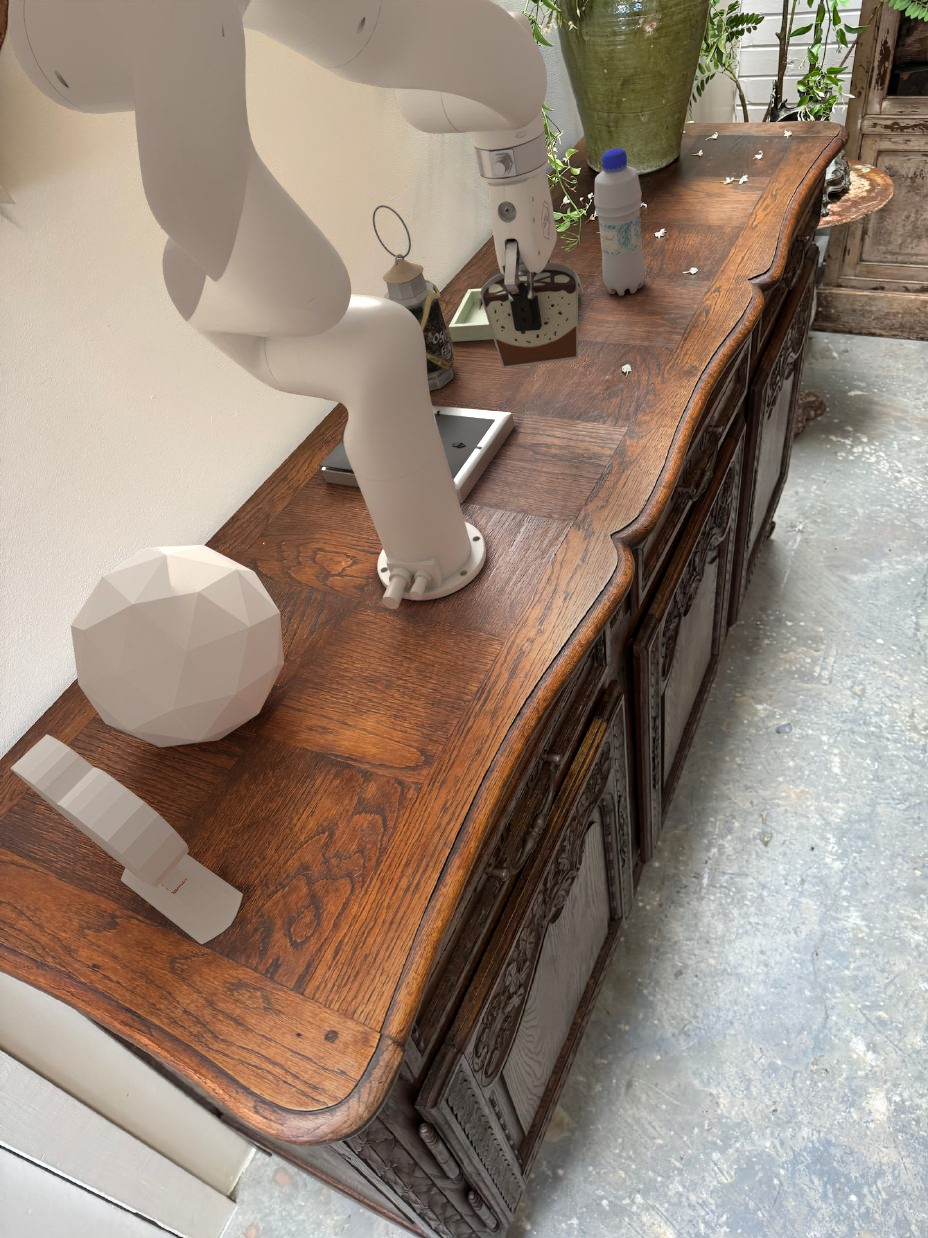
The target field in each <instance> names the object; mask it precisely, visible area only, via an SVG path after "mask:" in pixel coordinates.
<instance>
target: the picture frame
mask: <svg viewBox="0 0 928 1238" xmlns="http://www.w3.org/2000/svg"><path fill="white" fill-rule="evenodd" d="M432 407H433V411H434V415H435V419H436V423H437V427H438V430H439V434H440V437H441V440H442V443H443V447H444V451H445V454H446V458H447V461H448V465H449V468H450V472H451V475H452V479H453V482H454V486H455V489H456V493H457V496H458V500H459V503H462V504H463V503H464V501H466V498H467V497H468V495H470V493H471V491H472V490H473V488H474V487H475V485H476V484H477V483H478V481H479V480H480V478H481V477H482V475H483V474H484V472H485V471H486V469H487V468H488V466H489V465H490V464H491V462H492V460H493V459H494V458H495V456H496V455H497V453H498V451H499V450H500V448H501V447H502V446H503V444H504V443H505V441H506V440H507V438H508V437H509V436H510V434H511V433H512V431H513V429H515V421H514V416H513V413H512V412H505V411H496V410H495V411H493V410H483V409H474V408H473V409H472V408H463V407H462V408H461V407H450V406H440V405H432ZM318 466H319V467H320V468H321V470H320V471H321V473H322V475H323V478H324V480H325V482H326V483H329V484H335V485H336V484H337V485H343V486H349V487H356V488H360V487H359V485H358V482H357V479H356V477H355V474H354V472H353V470H352V468H351V465H350V463H349V460H348V457H347V454H346V451H345V447H344V441H343V442H338V444H337V445H336V446H335V447H334V448H333V449H332V450H331V452H330V453H329V454H328V455H327V456H326V457H325V458H324V459H323V460H322V461H321V462H320V464H319V465H318Z"/></svg>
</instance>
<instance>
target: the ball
mask: <svg viewBox="0 0 928 1238" xmlns="http://www.w3.org/2000/svg"><path fill="white" fill-rule="evenodd" d="M70 631H71V638H72V647H73V653H74V663H75V669H76V676H77V677H76V678H77V684H78V687H79V688H80V689H81V691H82V692H83V694H84V695H85V696H86V698H87V699H88V701H89V702H90V704H91V705H92V707H93V708H94V710H95V711H96V712H97V714H98V715H99V716H100V718H101V719H102V721H103V722H104V724H105V725H108V726H110V727H112V728H115V729H117V730H119V731H122V732H123V733H126V734H128V735H131V736H133V737H135V738H137V739H140V740H141V741H144V742H147V743H149V744H152V745H154V746H155V747H159V748H167V747H174V746H175V747H176V746H183V745H191V744H199V743H200V744H201V743H207V742H215V741H220V740H221V739H223V738H225V737H227V735H229V734H231V733H232V732H233V731H235V730H236V729H238V728H240V727H241V726H242V725H245V724H246V723H247V722H249V721H250V720H251V719H253V718H255V717H256V716H258V715H259V714H260V712H261V710H262V708H263V707H264V705H265V703H266V700H267V699H268V697H269V695H270V692H271V691H272V688H273V687H274V685H275V684H276V681H277V679H278V677H279V675H280V674H281V671H282V670H283V667H284V665H285V659H284V656H285V655H284V644H283V634H282V633H283V632H282V619H281V611H280V610H279V608H278V606H277V605H276V604H275V601H274V600H273V598H272V597H271V595H270V594H269V592H268V591H267V589H266V588H265V586H264V585H263V583H262V581H261V579H260V578H259V577H258V575H257V574H256V572H255V571H254V570H252V569H250V568H248V567H247V566H244V565H243V564H241V563H239V562H237V561H235V560H233V559H232V558H229V557H228V556H225V555H223V554H222V553H220V552H218V551H216V550H214V549H213V548H210V547H208V546H206V545H205V544H196V545H194V544H193V545H192V544H191V545H173V546H172V545H171V546H170V545H169V546H150V547H149V546H148V547H147V546H145V547H142V548H141V549H139V550H137V552H135V553H134V554H132V555H131V556H129V557H127V559H125V560H124V561H122V562H120V563H119V564H118V565H116V566H115V567H113V568H112V569H111V570H109V571H108V572H107V573H105V574H103V575H102V576H101V577H100V579H99V581H98V582H97V583H96V586H95V587H94V589H92V592H91V593H90V595H89V596H88V598H87V599H86V601H85V602H84V603H83V605H82V607H81V609H80V610H79V612H78V613H77V614H76V616H75V617H74V619H73V621H72V622H71V624H70Z"/></svg>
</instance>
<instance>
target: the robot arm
mask: <svg viewBox="0 0 928 1238" xmlns="http://www.w3.org/2000/svg"><path fill="white" fill-rule="evenodd" d="M7 27H8V28H7V29H8V33H9V40H10V43H11V46H12V50H13V52H14V55H15V58H16V59H17V61H18V63H19V64H20V67H21V69H22V71H23V72H24V74H25V75H26V76H27V78H28V79H29V81H30V82H31V83H32V84H33V86H35V87H36V89H38V90H39V91H40V92H41V93H42V94H43V95H44V96H46V97H47V98H49V99H50V100H52V101H53V102H54V103H56V104H57V105H59V106H62V107H64V108H66V109H68V110H71V111H75V112H78V113H83V114H92V115H93V114H95V115H97V114H98V115H99V114H100V115H102V114H111V113H112V114H113V113H124V112H134V117H135V120H134V121H135V129H136V140H137V141H136V142H137V152H138V159H139V166H140V175H141V181H142V187H143V192H144V195H145V199H146V202H147V205H148V206H149V209H150V211H151V214H152V216H153V217H154V219H155V221H156V222H157V223H158V225H159V227H160V228H161V229H162V230H163V231H164V233H165V234H166V235H167V236H168V238H167V240H166V242H165V245H164V248H163V252H162V275H163V280H164V284H165V287H166V290H167V293H168V295H169V298H170V300H171V302H172V303H173V306H174V307H175V309H176V310H177V311H178V313H179V315H180V316H181V318H183V320H184V321H185V322H186V323H187V324H188V325H189V326H190V327H191V328H192V329H193V330H194V331H195V332H197V334H199V335H200V336H201V337H203V339H205V340H206V341H208V342H209V343H210V344H211V345H212V346H213V347H215V348H216V349H218V350H219V351H220V352H221V353H223V354H224V355H225V356H226V357H228V358H229V359H230V360H231V361H233V362H234V363H236V364H237V365H238V366H239V367H240V368H242V369H243V370H244V371H245V372H247V373H249V375H251V376H252V377H253V378H255V379H256V380H258V381H259V382H261V383H262V384H264V385H265V386H268V387H269V388H272V389H274V390H275V391H279V392H282V393H286V394H292V395H296V396H297V395H299V396H304V397H311V398H317V399H323V400H325V401H331V402H336V403H339V404H341V405H343V406H344V407H345V408H346V410H347V413H348V418H347V421H346V425H345V427H344V428H345V429H344V430H343V431H344V432H343V442H344V447H345V451H346V454H347V457H348V460H349V463H350V465H351V468H352V470H353V472H354V474H355V477H356V479H357V482H358V485H359V487H358V488H359V490H360V493H361V494H362V498H363V500H364V503H365V505H366V508H367V510H368V514H369V515H370V518H371V521H372V524H373V526H374V528H375V531H376V533H377V536H378V538H379V541H380V544H381V547H382V549H381V551H380V553H379V556H378V558H377V563H376V566H377V567H376V568H377V573H378V577H379V580H380V581H381V584H382V585H383V586H384V588H385V589H386V590H385V591H384V594H383V596H382V598H381V603H382V605H383V606H384V607H385V608H387V609H391V610H395V609H398V608H399V606H400V604H401V602H402V599H405V600H411V601H430V600H435V599H439V598H443V597H446V596H448V595H451V594H453V593H456V592H457V591H459V590H461V589H463V588H465V586H467V585H468V584H469V583H471V582H472V581H473V580H474V579H475V577H477V576H478V574H479V573H480V572H481V571H482V569H483V567H484V566H485V565H484V564H485V562H486V559H487V546H486V542H485V539H484V536H483V534H482V532H481V531H480V530H479V529H478V528H477V527H476V526H474V525H473V524H471V523H469V522H467V521H466V520H465V518H464V515H463V511H462V507H461V502H459V500H458V496H457V493H456V489H455V486H454V482H453V479H452V475H451V472H450V468H449V465H448V461H447V458H446V454H445V451H444V447H443V443H442V440H441V437H440V434H439V430H438V427H437V423H436V419H435V415H434V411H433V407H432V406H433V403H432V399H431V394H430V393H431V392H430V391H429V385H428V376H427V361H426V348H425V340H424V335H423V332H422V329H421V326H420V324H419V322H418V321H417V319H416V318H415V316H414V315H413V314H412V313H411V312H410V311H409V310H408V309H406V308H405V307H404V306H402V305H400V304H398V303H396V302H394V301H391V300H389V299H385V298H384V297H381V296H377V295H370V294H361V293H360V294H359V293H352V283H351V277H350V275H349V271H348V269H347V266H346V265H345V262H344V260H343V258H342V256H341V255H340V253H339V252H338V250H337V249H336V247H335V246H334V245H333V243H332V242H331V241H330V239H329V238H328V237H327V236H326V234H324V232H323V231H322V229H320V228H319V226H318V225H317V224H316V223H315V222H314V221H313V220H312V219H311V217H309V215H308V214H307V212H305V210H303V208H302V207H301V205H299V204H298V202H297V201H296V200H295V199H294V198H293V197H292V195H290V193H289V192H288V191H287V190H286V189H285V187H284V186H282V184H281V183H280V182H279V181H278V179H277V178H276V177H275V175H273V173H272V171H270V169H269V168H268V166H267V165H266V164H265V162H264V161H263V160H262V158H261V157H260V155H259V153H258V151H257V149H256V147H255V144H254V142H253V138H252V134H251V131H250V125H249V117H248V108H247V90H246V88H247V87H246V86H247V85H246V84H247V83H246V82H247V81H246V79H247V78H246V71H247V70H246V69H247V67H246V66H247V65H246V63H247V61H246V60H247V59H246V58H247V57H246V55H247V52H246V37H245V29H248V30H253V31H256V32H259V33H260V34H263V35H265V36H267V37H269V38H270V39H272V40H274V41H276V42H277V43H279V44H280V45H283V46H285V47H287V48H289V49H290V50H292V51H294V52H296V53H298V54H300V55H301V56H303V57H304V58H307V59H308V60H310V61H312V62H314V63H315V64H317V65H318V66H320V67H322V68H324V69H325V70H327V71H329V72H331V73H333V74H334V75H335V76H336V77H337V76H338V77H339V78H341V79H344V80H345V81H348V82H352V83H356V84H360V85H367V86H371V87H376V88H383V89H395V99H396V103H397V106H398V109H399V111H400V113H401V116H402V117H403V118H404V120H405V121H406V122H407V123H408V124H409V125H410V126H411V127H413V129H415V130H418V131H420V132H423V133H426V134H427V133H428V134H436V135H437V134H438V135H439V134H440V135H441V134H443V135H444V134H465V133H471V136H472V142H473V147H474V154H475V160H476V164H477V165H476V166H477V170H478V177H479V180H480V181H481V182H483V183H485V184H487V193H488V206H489V211H490V222H491V228H492V235H493V243H494V248H495V254H496V259H497V263H498V269H499V272H500V273H502V274H503V275H505V279H504V283H505V287H506V288H507V290H508V293H509V300H510V304H511V310H512V316H513V322H514V327H515V330H516V331H534V330H540V329H541V326H542V323H541V316H540V309H539V302H538V295H537V296H534V272H536V273H540V272H541V271H542V270H543V269H544V267H545V266H546V264H547V263H551V255H552V253H553V251H554V248H555V246H556V244H557V241H558V233H557V231H558V230H557V226H556V219H555V213H554V206H553V199H552V194H551V189H550V184H549V183H550V182H549V178H548V174H547V170H546V169H547V168H548V167H549V164H550V163H549V154H548V149H547V148H548V147H547V140H546V139H547V138H546V131H545V123H544V115H543V106H544V103H545V99H546V95H547V90H548V89H547V88H548V78H547V77H548V76H547V75H548V74H547V69H546V68H547V67H546V63H545V59H544V57H543V54H542V51H541V49H540V47H539V46H538V43H537V42H536V40H535V39H534V33H533V28H532V27H533V26H532V24H531V22H530V20H529V18H528V17H527V16H526V15H525V13H523V12H520V11H514V10H509V11H508V10H506V9H505V8H503V7H502V6H500V4H498V3H496V2H494V1H493V0H9V3H8V9H7ZM523 265H526V267H527V269H528V270H519V266H523ZM519 276H527V286H526V285H525V284H524V283H523V282H521V283H520V279H519Z"/></svg>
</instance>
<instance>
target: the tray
mask: <svg viewBox="0 0 928 1238" xmlns="http://www.w3.org/2000/svg"><path fill="white" fill-rule="evenodd" d="M481 289H482V287H480V288H469V289H467V291H466V293H465V295H464V296H463V298H462V300H461V302H460V304H459V306H458V308H457V310H456V312H455V313H454V315H453V317H452V319H451V321H450V323H449V325H448V332H449V335H450V336H449V337H450V339H451V340H450V341H451V342H452V343H454V342H455V343H456V342H471V341H487V340H488V341H490V340H494V338H493V335H492V332H491V329H490V325H489V322H488V319H487V316H486V313H485V309H484V306H483V304H482V306H481V309H480V310H479V296H480V291H481Z"/></svg>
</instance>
